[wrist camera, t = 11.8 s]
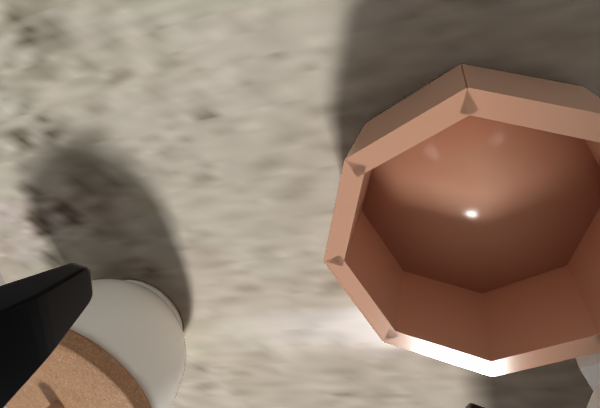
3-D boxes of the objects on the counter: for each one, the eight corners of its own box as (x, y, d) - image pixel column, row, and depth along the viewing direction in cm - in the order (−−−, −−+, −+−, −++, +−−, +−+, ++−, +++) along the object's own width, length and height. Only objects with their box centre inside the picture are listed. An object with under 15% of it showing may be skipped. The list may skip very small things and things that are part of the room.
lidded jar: (212, 387, 31) (134, 522, 24) (91, 344, 34) (-18, 454, 26) (213, 275, 26) (114, 400, 18) (70, 233, 28) (-75, 328, 20)
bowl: (676, 102, 15) (765, 145, 11) (549, 319, 21) (576, 404, 17) (382, 47, 18) (363, 66, 13) (336, 257, 23) (312, 318, 19)
